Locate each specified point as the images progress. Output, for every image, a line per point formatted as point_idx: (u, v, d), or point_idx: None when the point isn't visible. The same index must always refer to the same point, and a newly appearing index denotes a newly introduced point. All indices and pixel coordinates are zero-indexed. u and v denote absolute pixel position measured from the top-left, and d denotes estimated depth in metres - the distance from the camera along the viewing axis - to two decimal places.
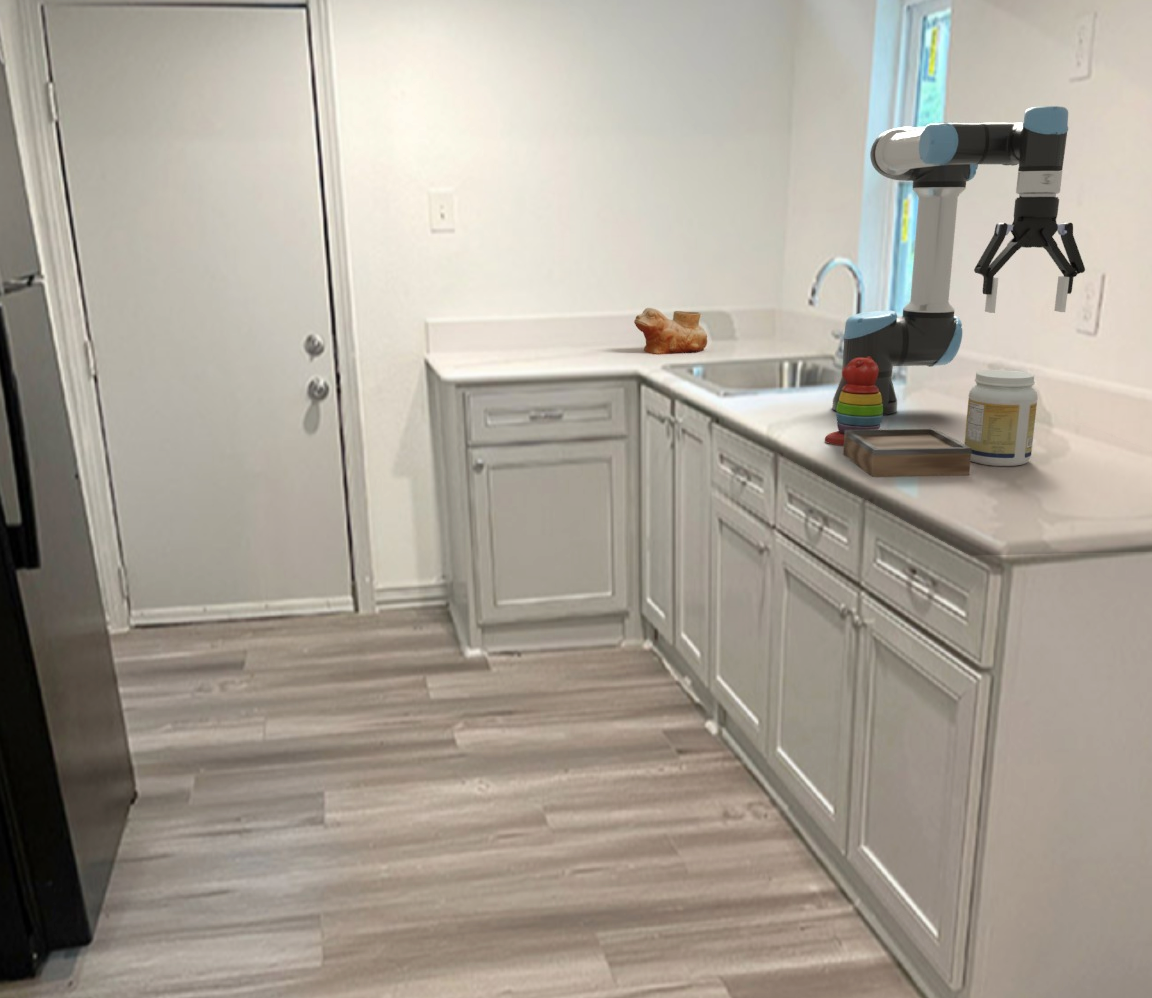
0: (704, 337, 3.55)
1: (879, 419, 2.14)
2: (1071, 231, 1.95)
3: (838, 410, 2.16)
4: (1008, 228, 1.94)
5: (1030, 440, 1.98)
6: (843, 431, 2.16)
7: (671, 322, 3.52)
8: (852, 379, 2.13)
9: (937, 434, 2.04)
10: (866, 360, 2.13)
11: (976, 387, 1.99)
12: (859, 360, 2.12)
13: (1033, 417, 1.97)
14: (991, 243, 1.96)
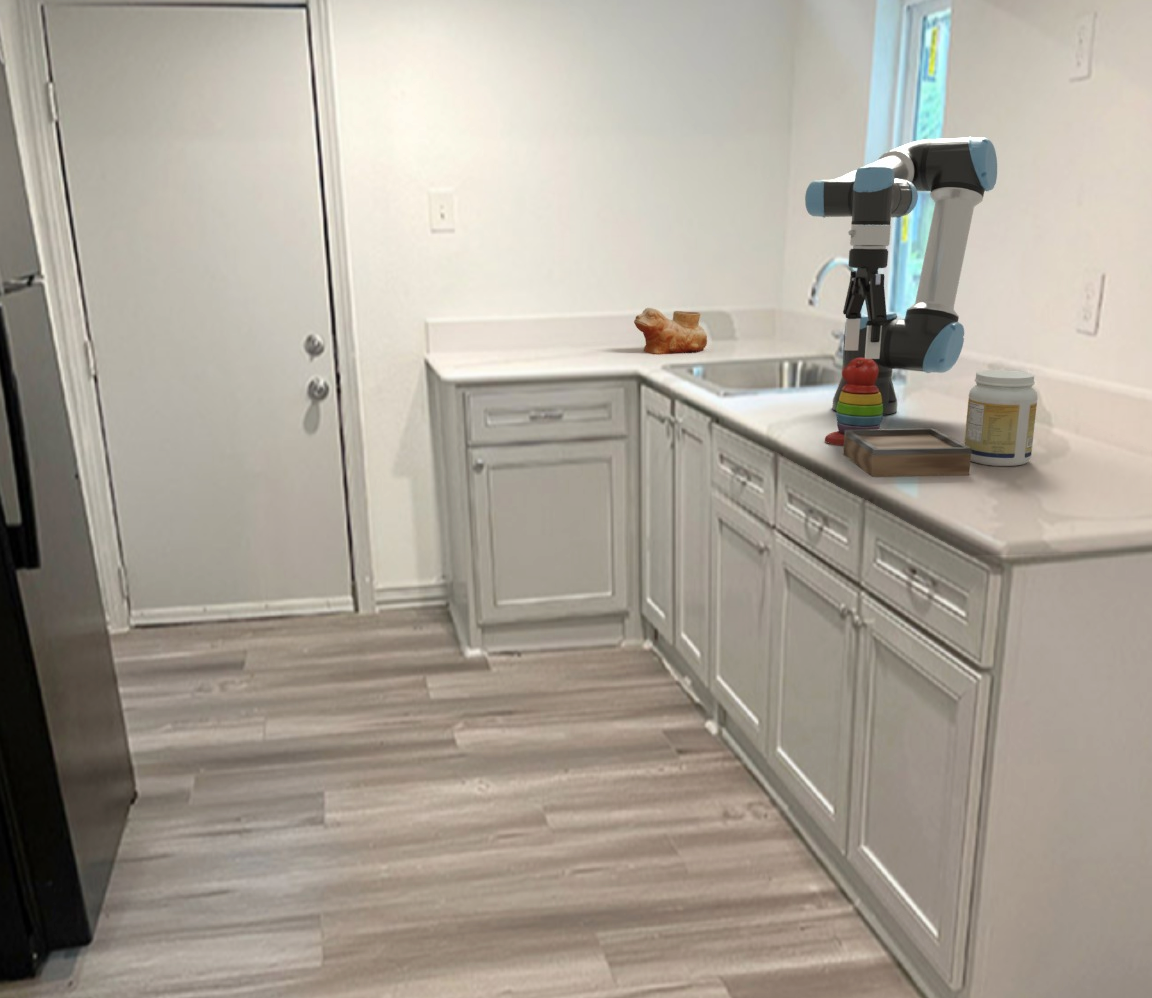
0: (704, 337, 3.55)
1: (879, 419, 2.14)
2: (871, 282, 2.04)
3: (838, 410, 2.16)
4: None
5: (1030, 440, 1.98)
6: (843, 431, 2.16)
7: (671, 322, 3.52)
8: (852, 379, 2.13)
9: (937, 434, 2.04)
10: (866, 360, 2.13)
11: (976, 387, 1.99)
12: (859, 360, 2.12)
13: (1033, 417, 1.97)
14: None
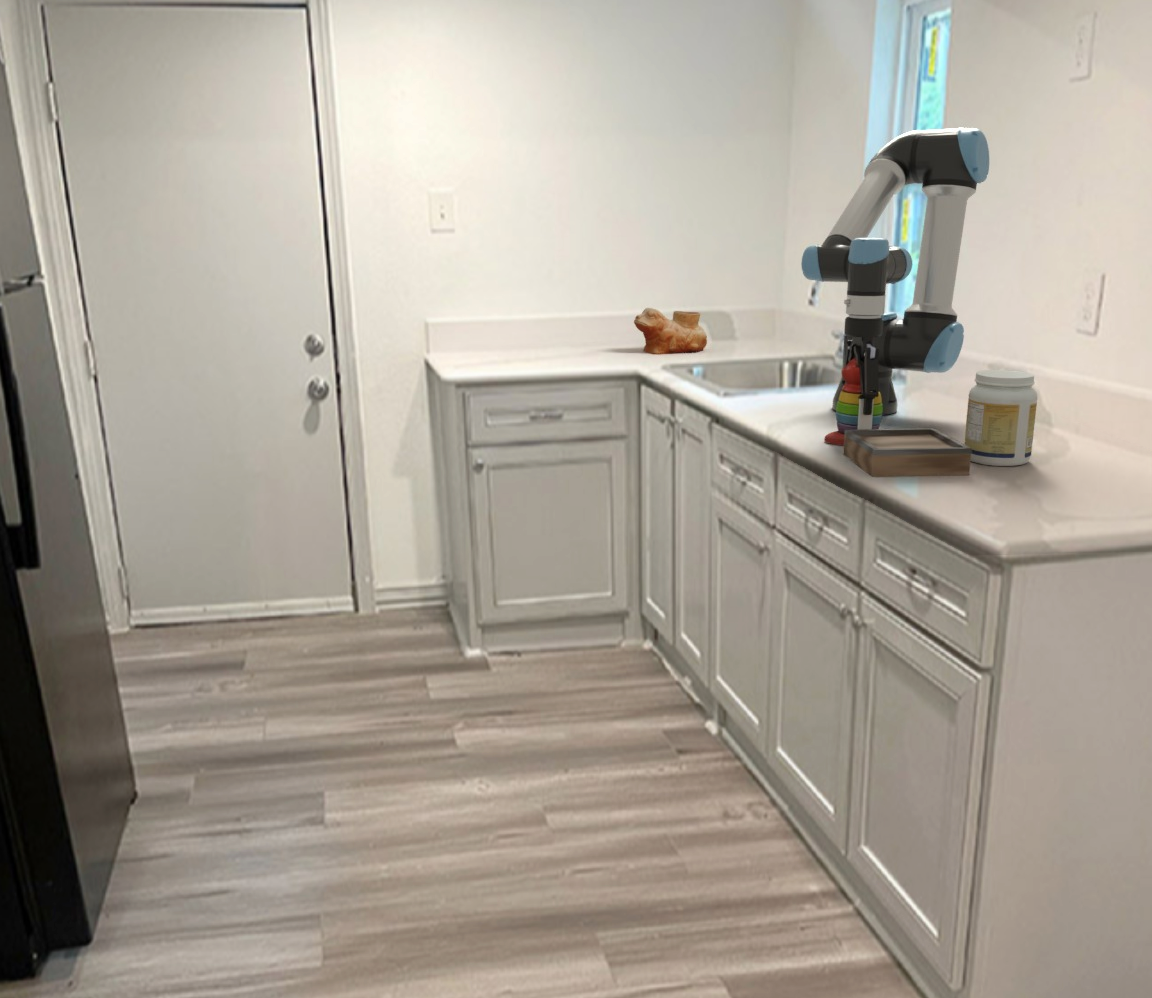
0: (704, 337, 3.55)
1: (879, 419, 2.15)
2: (866, 355, 2.08)
3: (838, 410, 2.17)
4: (852, 344, 2.19)
5: (1030, 440, 1.98)
6: (843, 431, 2.16)
7: (671, 322, 3.52)
8: (852, 379, 2.14)
9: (937, 434, 2.04)
10: None
11: (976, 387, 1.99)
12: None
13: (1033, 417, 1.97)
14: None
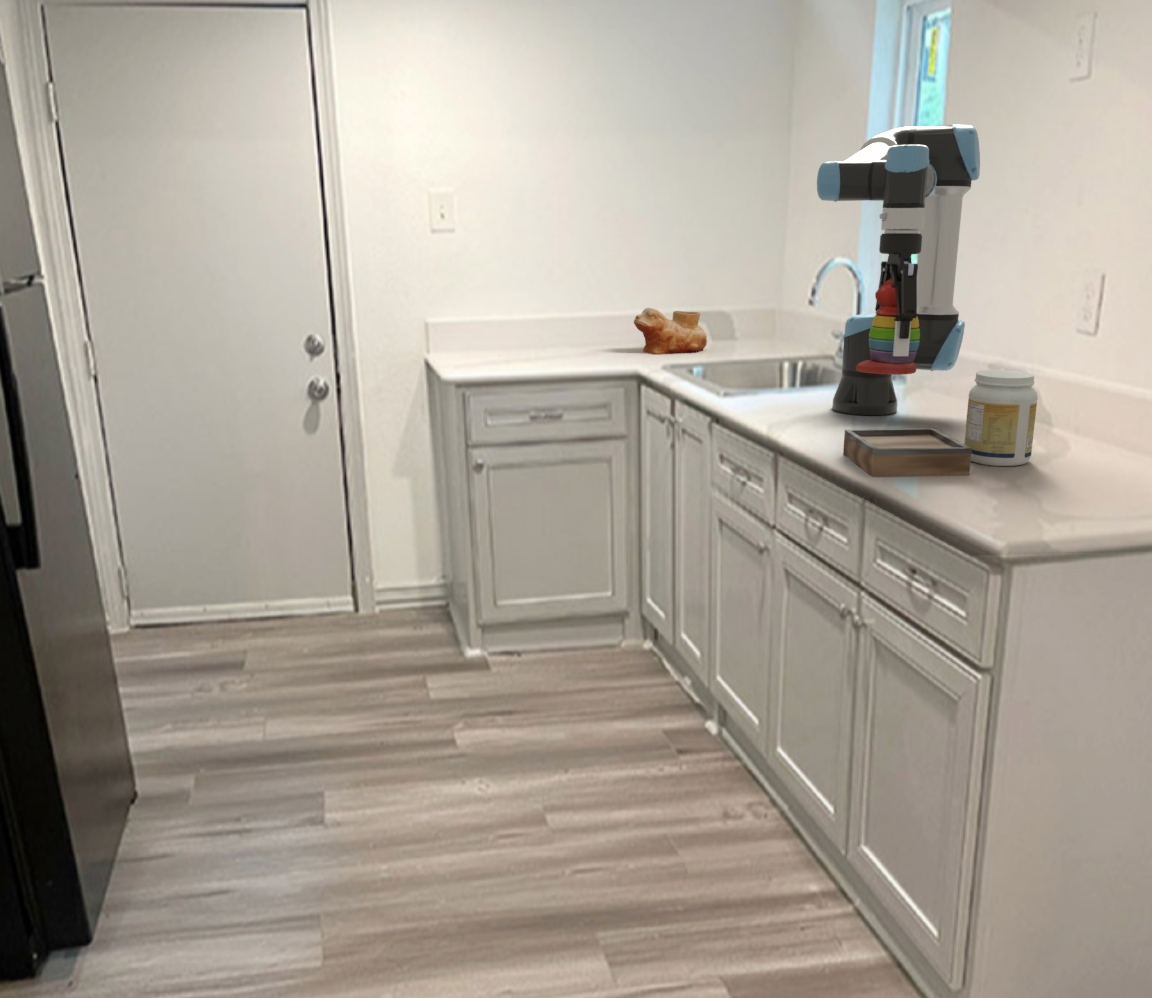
0: (704, 337, 3.55)
1: (916, 345, 1.97)
2: (903, 273, 1.91)
3: (871, 335, 1.99)
4: None
5: (1030, 440, 1.98)
6: (876, 358, 1.99)
7: (671, 322, 3.52)
8: (887, 300, 1.97)
9: (937, 434, 2.04)
10: None
11: (976, 387, 1.99)
12: None
13: (1033, 417, 1.97)
14: None
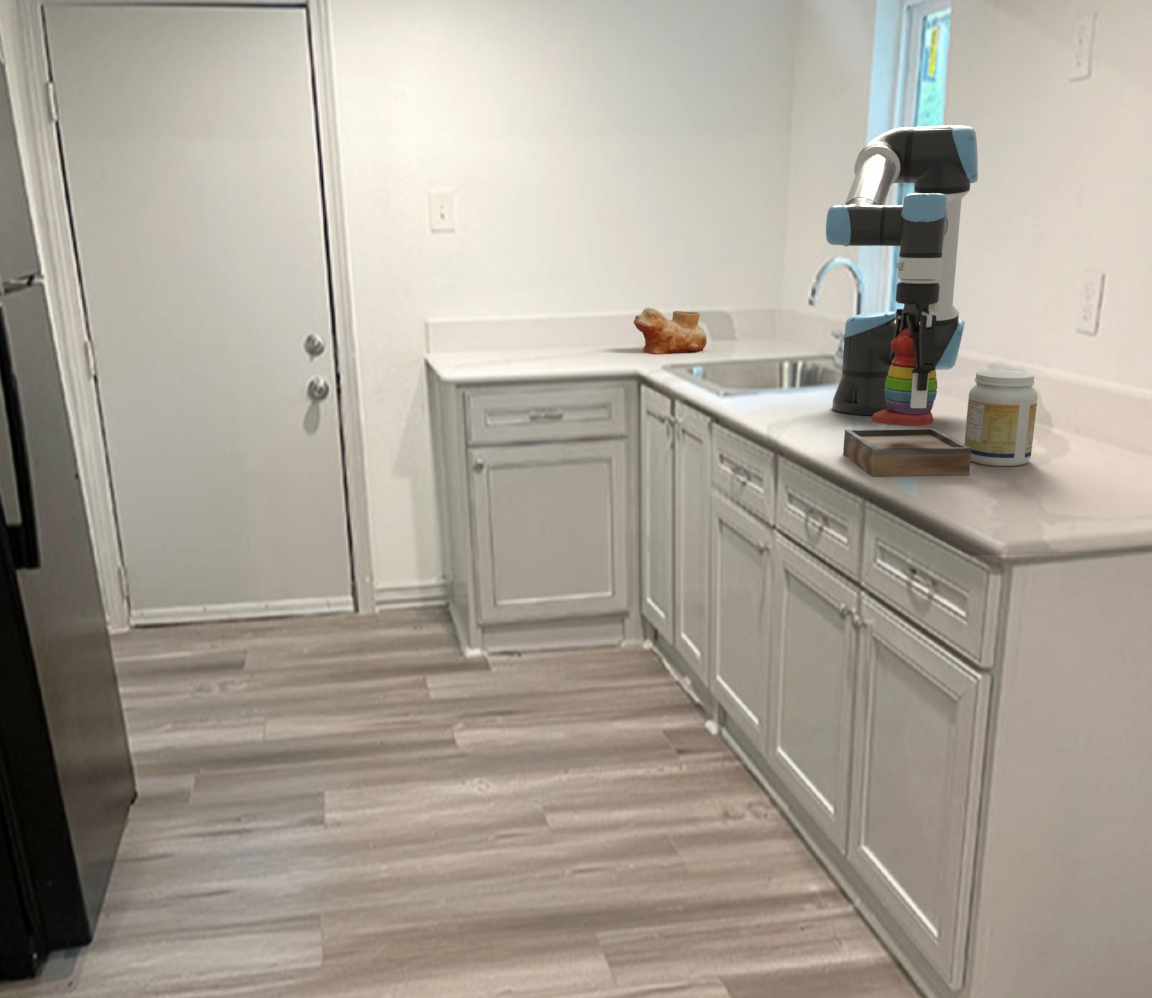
0: (703, 337, 3.55)
1: (933, 395, 1.93)
2: (921, 324, 1.87)
3: (887, 386, 1.95)
4: (903, 313, 1.97)
5: (1030, 440, 1.98)
6: (893, 409, 1.95)
7: (670, 322, 3.52)
8: (904, 351, 1.92)
9: (937, 434, 2.04)
10: None
11: (976, 387, 1.99)
12: None
13: (1033, 417, 1.97)
14: None
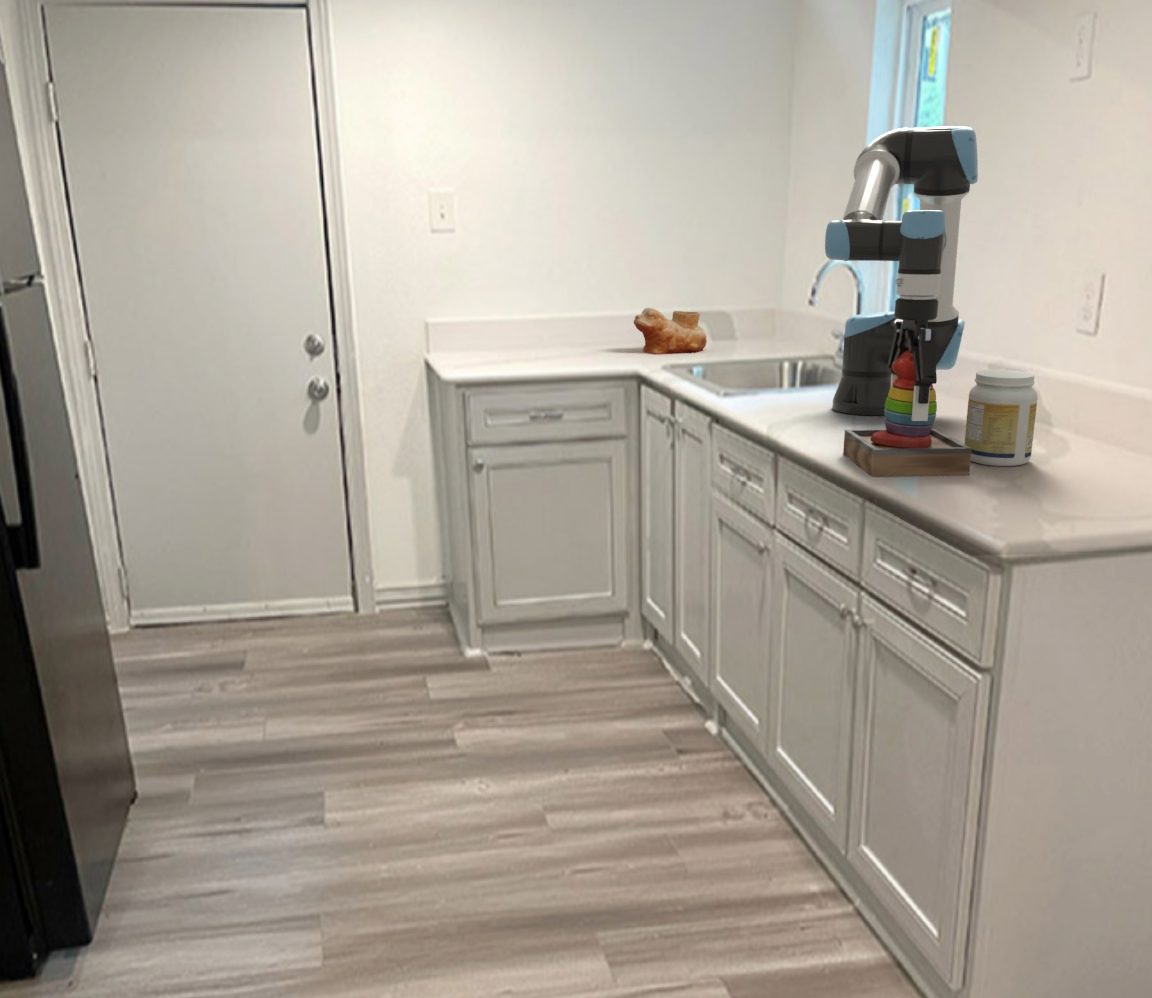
0: (703, 337, 3.55)
1: (932, 418, 1.94)
2: (920, 338, 1.87)
3: (887, 407, 1.96)
4: (902, 327, 1.98)
5: (1030, 440, 1.98)
6: (892, 430, 1.96)
7: (670, 322, 3.52)
8: (905, 373, 1.93)
9: (937, 434, 2.04)
10: None
11: (976, 387, 1.99)
12: None
13: (1033, 417, 1.97)
14: None
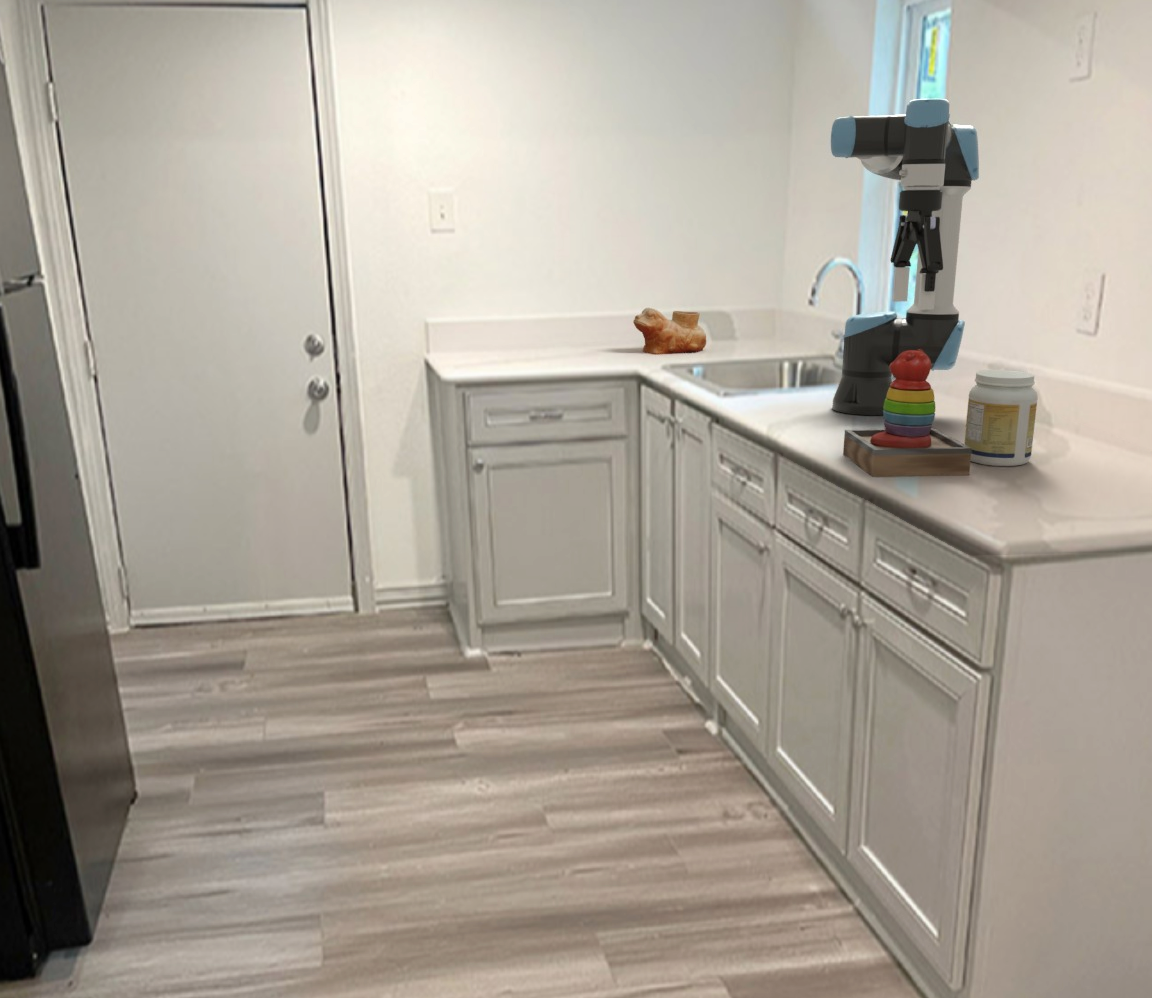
0: (703, 337, 3.55)
1: (931, 418, 1.95)
2: (925, 226, 1.88)
3: (886, 408, 1.96)
4: None
5: (1030, 440, 1.98)
6: (891, 431, 1.96)
7: (670, 322, 3.52)
8: (902, 374, 1.94)
9: (937, 434, 2.04)
10: (917, 353, 1.93)
11: (976, 387, 1.99)
12: (910, 353, 1.92)
13: (1033, 417, 1.97)
14: None
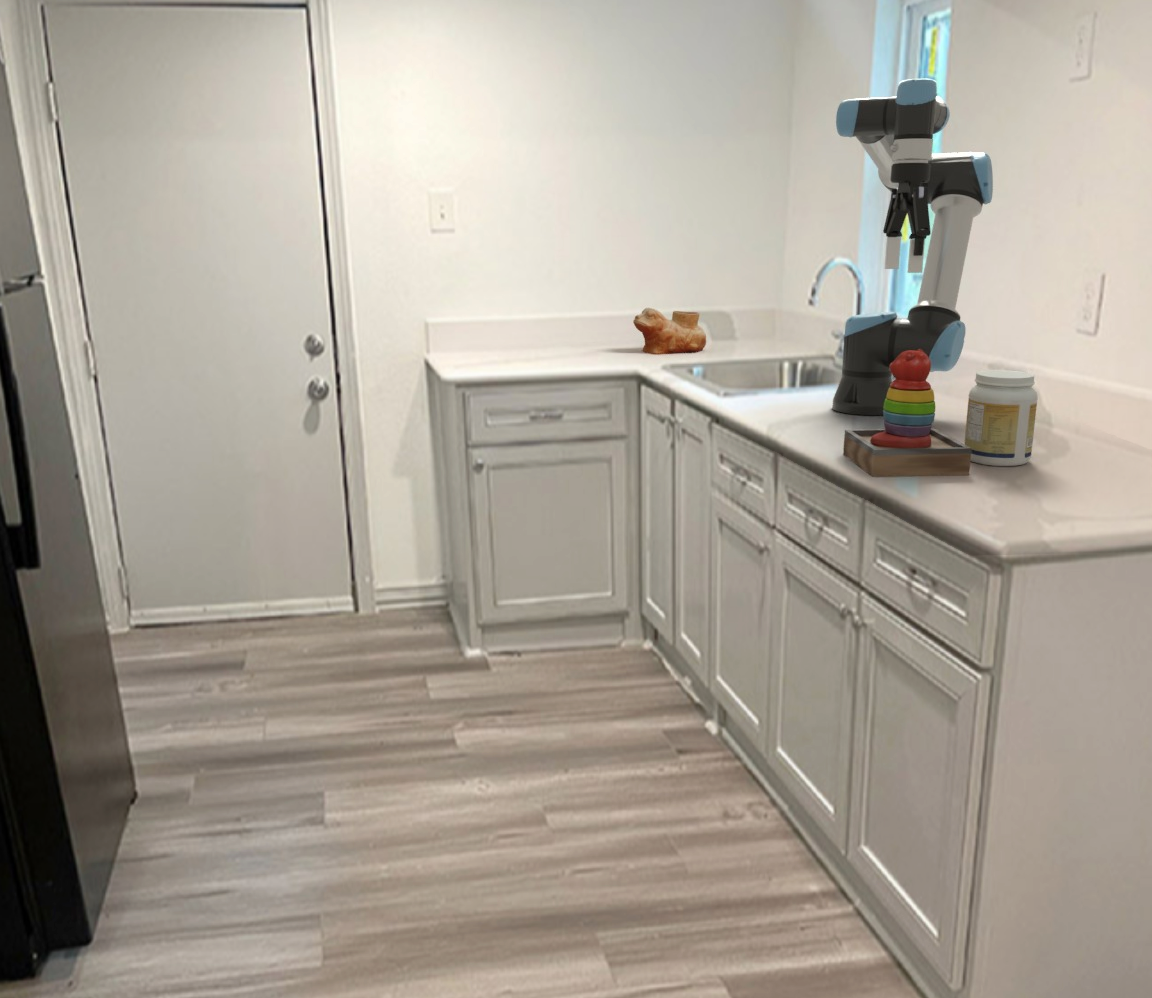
0: (703, 337, 3.55)
1: (931, 418, 1.95)
2: (914, 195, 2.05)
3: (886, 408, 1.97)
4: (897, 192, 2.16)
5: (1030, 440, 1.98)
6: (891, 431, 1.96)
7: (670, 322, 3.52)
8: (902, 374, 1.94)
9: (937, 434, 2.04)
10: (917, 353, 1.93)
11: (976, 387, 1.99)
12: (910, 353, 1.92)
13: (1033, 417, 1.97)
14: None
